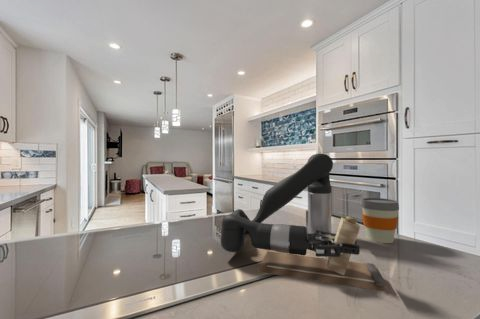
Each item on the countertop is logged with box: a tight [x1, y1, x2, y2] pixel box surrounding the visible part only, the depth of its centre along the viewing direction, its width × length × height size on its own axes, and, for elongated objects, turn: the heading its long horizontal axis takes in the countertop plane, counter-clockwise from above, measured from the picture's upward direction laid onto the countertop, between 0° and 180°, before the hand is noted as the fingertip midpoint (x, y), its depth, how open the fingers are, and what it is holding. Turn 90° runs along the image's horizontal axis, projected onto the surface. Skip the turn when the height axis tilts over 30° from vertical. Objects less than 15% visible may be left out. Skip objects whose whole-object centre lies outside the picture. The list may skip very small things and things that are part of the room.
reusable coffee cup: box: [360, 197, 400, 244], centre depth 89 cm, size 13×13×15 cm
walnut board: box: [256, 250, 391, 293], centre depth 62 cm, size 30×14×2 cm, turn 72°
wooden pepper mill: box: [327, 215, 361, 275], centre depth 59 cm, size 4×4×14 cm
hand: (357, 246), depth 58 cm, fingers closed on wooden pepper mill, 4 cm apart
